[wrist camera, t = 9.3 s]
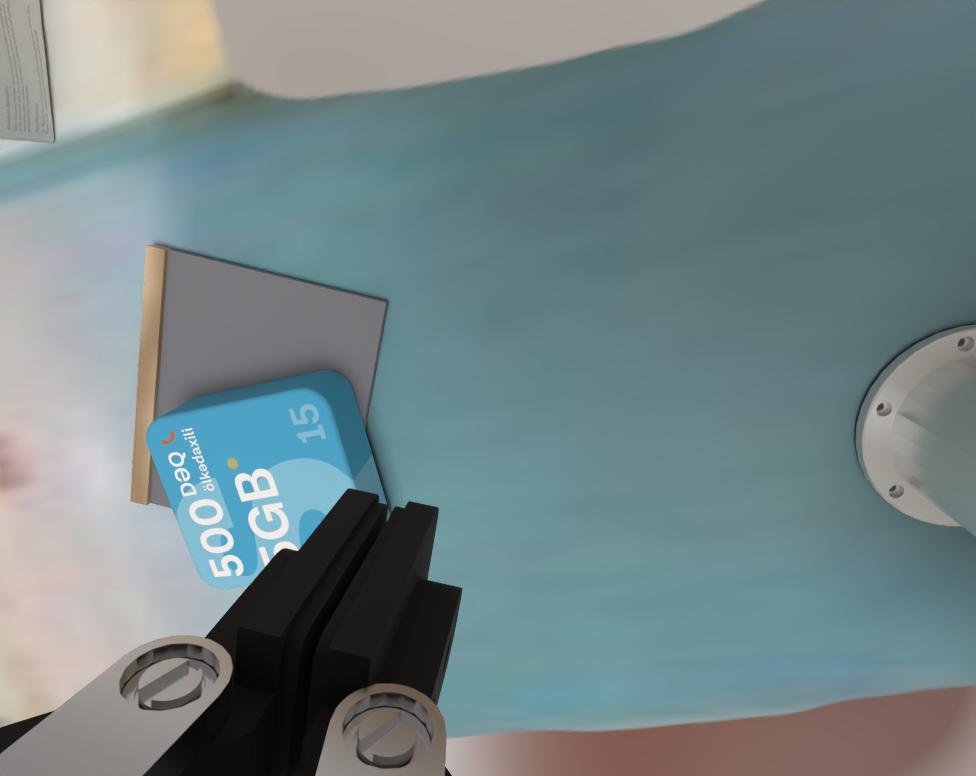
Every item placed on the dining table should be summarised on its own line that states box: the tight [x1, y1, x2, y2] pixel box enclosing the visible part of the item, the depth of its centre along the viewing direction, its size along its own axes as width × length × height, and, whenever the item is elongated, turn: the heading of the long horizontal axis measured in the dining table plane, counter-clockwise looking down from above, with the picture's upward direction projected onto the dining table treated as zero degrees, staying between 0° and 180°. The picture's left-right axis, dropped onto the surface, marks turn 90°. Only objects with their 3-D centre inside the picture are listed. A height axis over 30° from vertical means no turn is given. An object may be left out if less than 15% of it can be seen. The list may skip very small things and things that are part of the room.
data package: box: [146, 370, 390, 589], centre depth 40 cm, size 12×4×12 cm
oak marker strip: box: [130, 245, 173, 505], centre depth 41 cm, size 1×18×1 cm, turn 167°
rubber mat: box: [150, 249, 388, 508], centre depth 41 cm, size 14×18×1 cm
